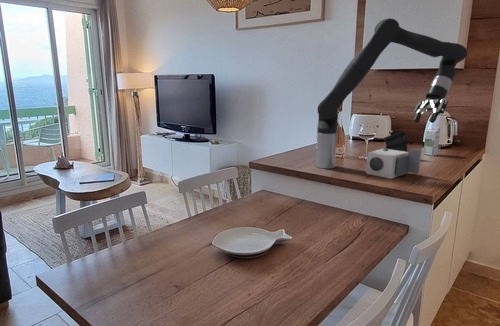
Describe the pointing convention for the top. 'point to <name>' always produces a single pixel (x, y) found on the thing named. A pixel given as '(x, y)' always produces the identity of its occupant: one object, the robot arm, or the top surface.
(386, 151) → the knobbed white box
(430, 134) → the syrup box
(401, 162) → the side door
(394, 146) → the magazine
